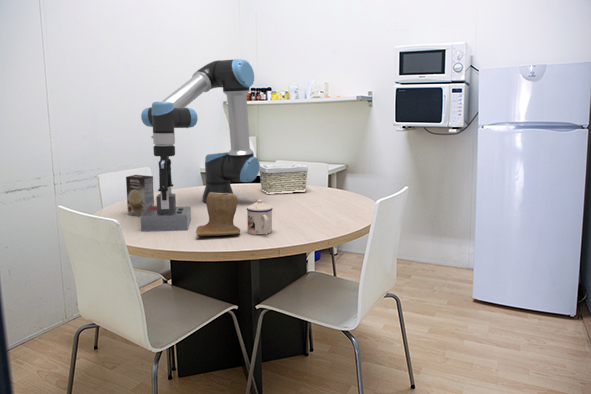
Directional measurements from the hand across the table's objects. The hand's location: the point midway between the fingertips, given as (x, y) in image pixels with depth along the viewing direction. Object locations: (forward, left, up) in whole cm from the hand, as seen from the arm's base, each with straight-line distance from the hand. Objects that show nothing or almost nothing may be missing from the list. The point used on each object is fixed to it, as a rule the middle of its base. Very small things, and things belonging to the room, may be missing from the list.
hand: (166, 206), depth 169 cm
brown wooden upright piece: (-19, +15, -8) cm, 25 cm away
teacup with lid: (-34, +15, -7) cm, 38 cm away
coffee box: (+13, -20, -7) cm, 25 cm away
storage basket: (-52, -70, -8) cm, 88 cm away
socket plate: (0, 0, -7) cm, 7 cm away
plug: (0, 0, -7) cm, 7 cm away
